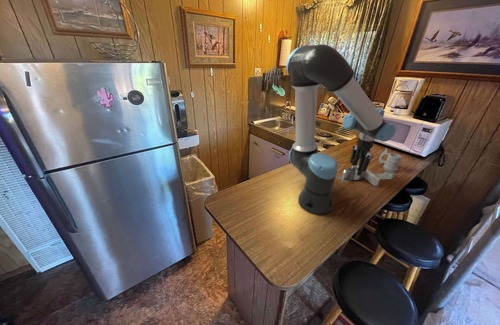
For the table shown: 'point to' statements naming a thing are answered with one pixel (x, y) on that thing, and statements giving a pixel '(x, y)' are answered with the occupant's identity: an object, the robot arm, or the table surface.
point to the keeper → (385, 175)
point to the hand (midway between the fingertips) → (353, 177)
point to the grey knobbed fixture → (344, 176)
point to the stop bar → (352, 173)
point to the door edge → (371, 178)
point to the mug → (390, 160)
